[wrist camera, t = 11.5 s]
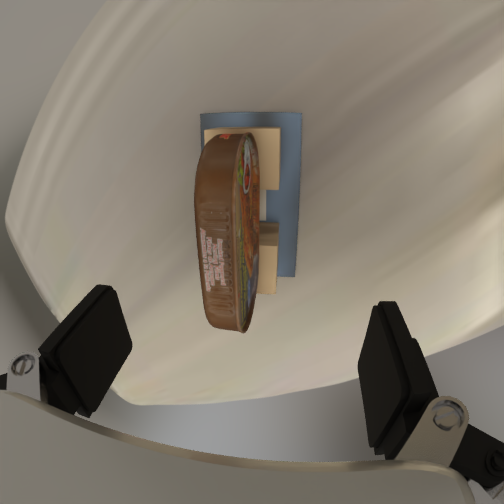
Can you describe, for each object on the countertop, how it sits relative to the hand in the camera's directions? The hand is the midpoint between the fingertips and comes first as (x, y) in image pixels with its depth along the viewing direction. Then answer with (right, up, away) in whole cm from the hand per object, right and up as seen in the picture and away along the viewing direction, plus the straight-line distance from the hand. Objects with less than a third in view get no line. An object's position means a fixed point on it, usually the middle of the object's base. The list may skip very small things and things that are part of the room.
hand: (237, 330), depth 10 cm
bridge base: (0, +8, +21) cm, 23 cm away
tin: (0, +6, +15) cm, 16 cm away
